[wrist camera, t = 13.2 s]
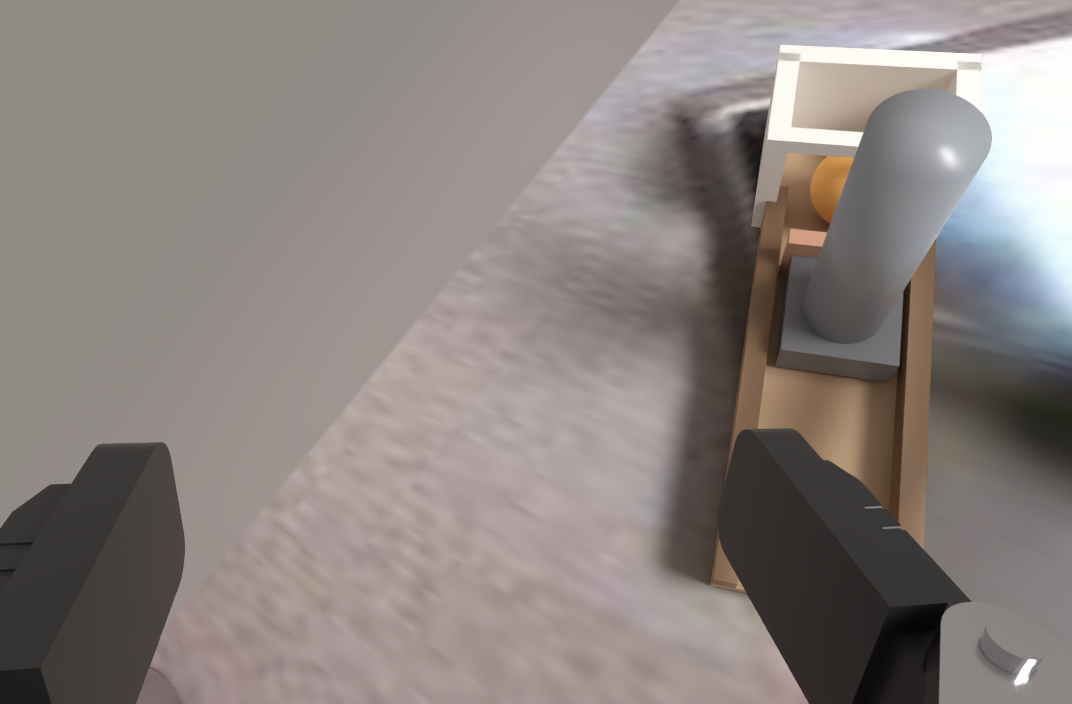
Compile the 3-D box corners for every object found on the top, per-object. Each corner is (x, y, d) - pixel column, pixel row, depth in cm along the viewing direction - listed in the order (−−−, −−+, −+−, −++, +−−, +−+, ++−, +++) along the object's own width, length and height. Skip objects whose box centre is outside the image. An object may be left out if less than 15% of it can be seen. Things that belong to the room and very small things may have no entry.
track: (710, 585, 33) (713, 579, 31) (774, 124, 42) (781, 93, 40) (902, 627, 31) (920, 624, 29) (926, 135, 40) (941, 103, 38)
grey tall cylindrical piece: (768, 364, 35) (825, 192, 22) (781, 260, 37) (840, 49, 24) (894, 383, 34) (1029, 211, 21) (900, 274, 36) (1027, 58, 23)
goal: (750, 226, 40) (767, 139, 33) (765, 131, 42) (783, 32, 35) (931, 245, 38) (986, 156, 31) (935, 143, 40) (987, 40, 33)
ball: (813, 146, 38) (800, 223, 39) (822, 138, 34) (807, 224, 35) (896, 152, 37) (880, 231, 38) (914, 145, 33) (896, 233, 34)
